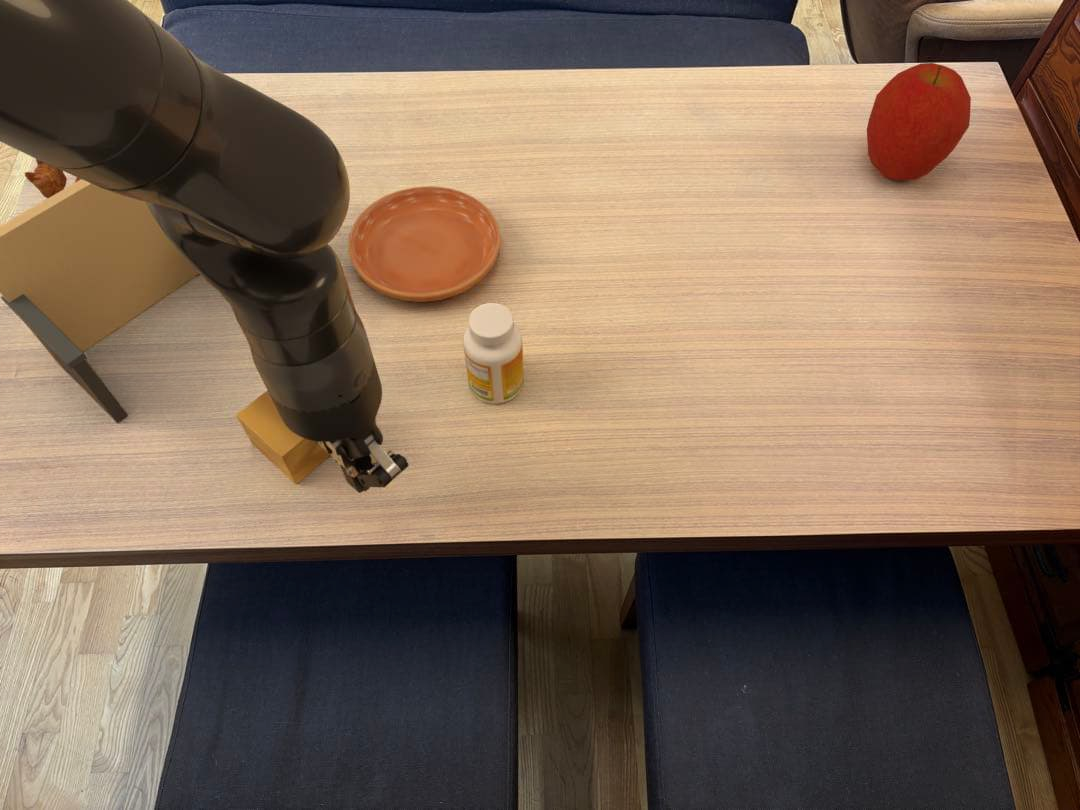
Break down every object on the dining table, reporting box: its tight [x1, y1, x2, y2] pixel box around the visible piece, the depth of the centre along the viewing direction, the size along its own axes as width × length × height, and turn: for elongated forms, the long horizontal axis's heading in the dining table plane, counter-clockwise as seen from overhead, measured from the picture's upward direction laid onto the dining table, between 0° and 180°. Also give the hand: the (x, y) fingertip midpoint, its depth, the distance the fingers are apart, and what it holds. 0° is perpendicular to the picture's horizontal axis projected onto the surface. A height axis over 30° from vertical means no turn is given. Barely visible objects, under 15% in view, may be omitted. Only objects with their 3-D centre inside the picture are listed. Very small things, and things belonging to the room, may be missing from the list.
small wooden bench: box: [0, 179, 200, 424], centre depth 80 cm, size 11×21×16 cm, turn 138°
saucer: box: [347, 185, 501, 303], centre depth 91 cm, size 16×16×3 cm
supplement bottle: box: [462, 302, 525, 405], centre depth 79 cm, size 5×5×10 cm
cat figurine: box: [24, 159, 81, 199], centre depth 90 cm, size 18×7×14 cm, turn 179°
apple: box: [866, 62, 972, 182], centre depth 93 cm, size 10×10×14 cm
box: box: [235, 389, 331, 485], centre depth 77 cm, size 6×6×5 cm
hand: (363, 481), depth 73 cm, fingers closed
